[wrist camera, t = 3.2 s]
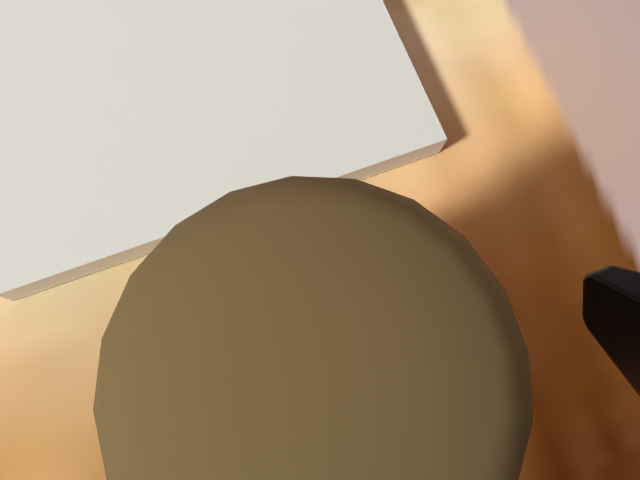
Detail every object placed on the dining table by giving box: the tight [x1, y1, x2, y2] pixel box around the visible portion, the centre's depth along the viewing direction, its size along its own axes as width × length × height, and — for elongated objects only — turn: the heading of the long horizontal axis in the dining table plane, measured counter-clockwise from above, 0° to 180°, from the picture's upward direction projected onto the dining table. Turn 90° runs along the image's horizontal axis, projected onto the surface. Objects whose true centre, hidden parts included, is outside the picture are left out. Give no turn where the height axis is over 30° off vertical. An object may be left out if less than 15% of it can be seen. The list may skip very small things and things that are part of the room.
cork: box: [93, 176, 532, 480], centre depth 11 cm, size 6×6×11 cm
